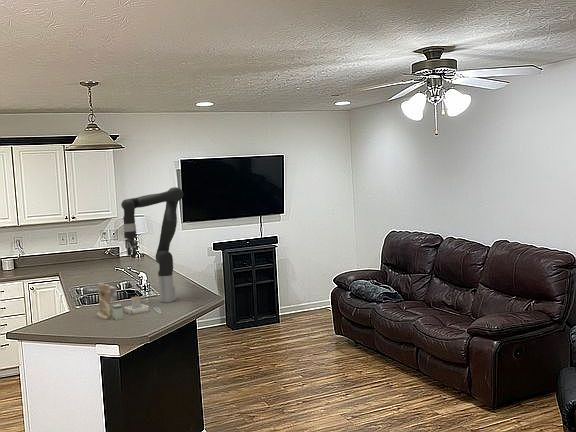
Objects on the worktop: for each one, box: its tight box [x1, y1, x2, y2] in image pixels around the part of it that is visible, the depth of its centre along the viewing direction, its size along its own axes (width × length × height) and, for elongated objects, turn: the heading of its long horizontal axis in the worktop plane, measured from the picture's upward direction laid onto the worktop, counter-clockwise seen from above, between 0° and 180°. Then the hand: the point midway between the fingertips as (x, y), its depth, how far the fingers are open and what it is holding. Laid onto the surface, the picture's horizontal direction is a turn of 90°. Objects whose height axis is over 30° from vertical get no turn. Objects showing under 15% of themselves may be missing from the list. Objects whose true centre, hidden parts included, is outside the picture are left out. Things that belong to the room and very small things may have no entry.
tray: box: [123, 303, 151, 316], centre depth 371 cm, size 12×12×3 cm
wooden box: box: [96, 282, 118, 320], centre depth 363 cm, size 9×16×20 cm, turn 36°
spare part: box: [130, 296, 142, 309], centre depth 370 cm, size 4×4×8 cm
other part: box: [112, 303, 124, 321], centre depth 354 cm, size 4×4×8 cm
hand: (132, 255), depth 388 cm, fingers open, 8 cm apart
